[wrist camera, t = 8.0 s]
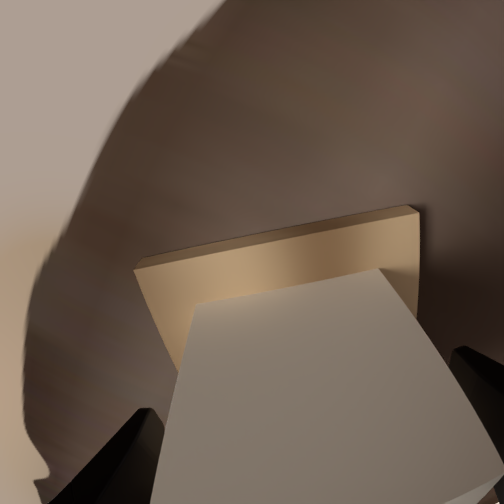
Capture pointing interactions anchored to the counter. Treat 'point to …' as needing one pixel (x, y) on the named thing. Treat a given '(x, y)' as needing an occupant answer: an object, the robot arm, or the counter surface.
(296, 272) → the stand
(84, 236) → the counter surface
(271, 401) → the white rectangular block
